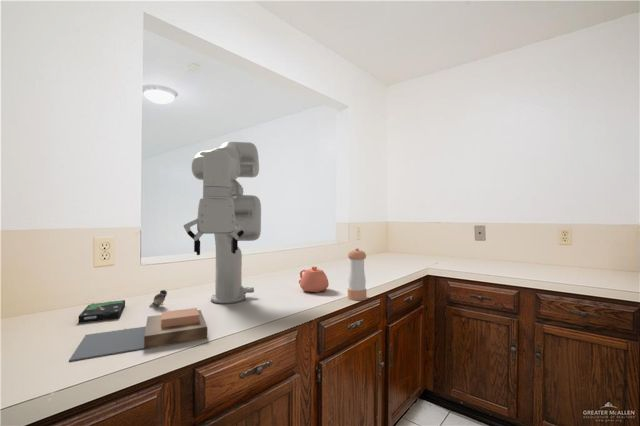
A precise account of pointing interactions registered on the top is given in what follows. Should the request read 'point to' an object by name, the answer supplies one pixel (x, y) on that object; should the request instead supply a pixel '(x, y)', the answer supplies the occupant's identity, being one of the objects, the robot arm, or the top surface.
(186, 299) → the top surface
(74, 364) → the top surface
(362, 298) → the pepper shaker
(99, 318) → the disk drive
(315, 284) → the sugar bowl
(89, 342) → the mat
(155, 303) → the bird figurine
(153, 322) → the block
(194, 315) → the block
